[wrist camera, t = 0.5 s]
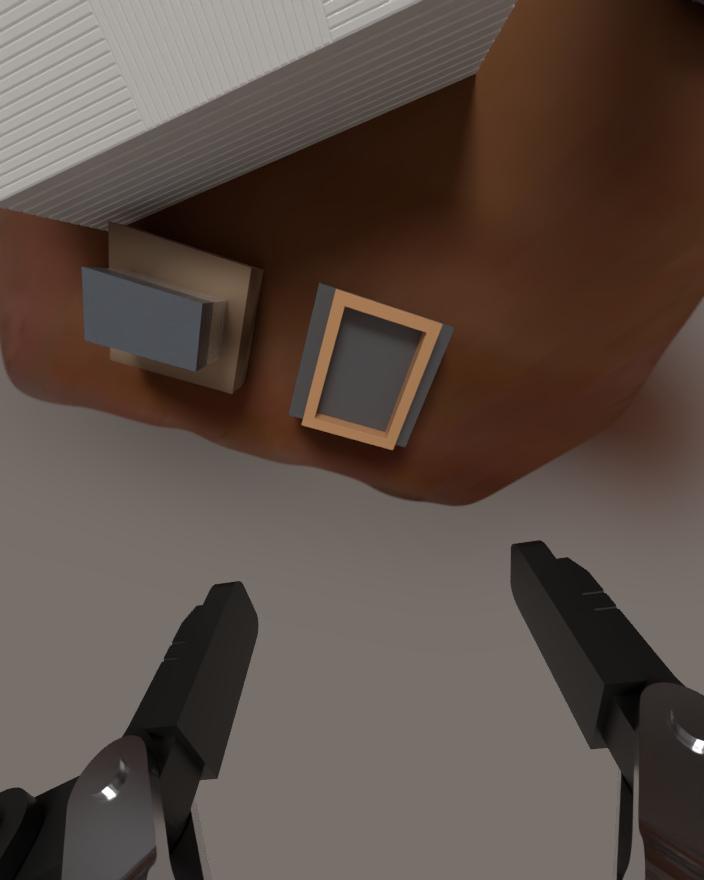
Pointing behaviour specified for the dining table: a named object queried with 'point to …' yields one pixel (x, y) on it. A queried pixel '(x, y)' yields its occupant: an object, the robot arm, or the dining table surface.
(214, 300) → the housing base plate
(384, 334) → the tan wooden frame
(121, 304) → the block
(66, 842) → the robot arm
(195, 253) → the walnut stand
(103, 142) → the long white block
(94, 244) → the dining table surface
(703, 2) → the crystal cluster
